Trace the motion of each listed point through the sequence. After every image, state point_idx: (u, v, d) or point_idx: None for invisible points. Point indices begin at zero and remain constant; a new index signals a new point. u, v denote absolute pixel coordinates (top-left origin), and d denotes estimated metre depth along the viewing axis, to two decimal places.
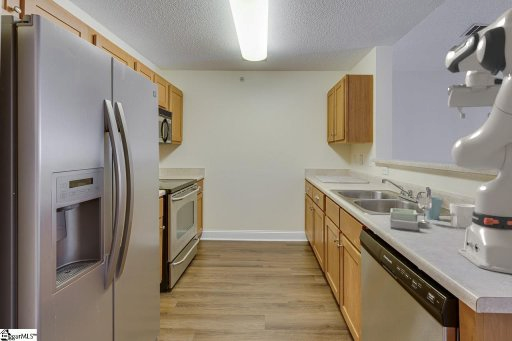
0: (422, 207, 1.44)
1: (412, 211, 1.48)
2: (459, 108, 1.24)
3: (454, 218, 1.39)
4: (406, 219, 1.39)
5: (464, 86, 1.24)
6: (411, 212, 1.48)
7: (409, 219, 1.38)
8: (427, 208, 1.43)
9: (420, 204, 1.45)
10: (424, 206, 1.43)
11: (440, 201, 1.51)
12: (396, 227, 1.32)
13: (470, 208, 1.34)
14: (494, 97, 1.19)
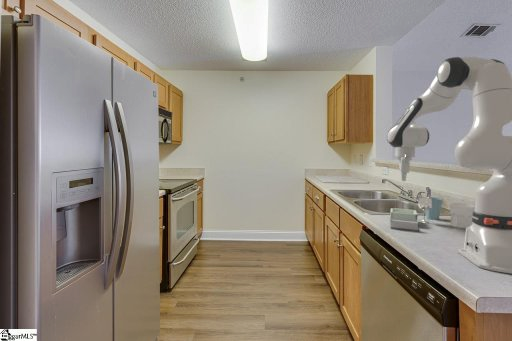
0: (422, 207, 1.44)
1: (412, 211, 1.48)
2: (406, 173, 1.51)
3: (454, 218, 1.39)
4: (406, 219, 1.39)
5: None
6: (411, 212, 1.48)
7: (409, 219, 1.38)
8: (427, 208, 1.43)
9: (420, 204, 1.45)
10: (424, 206, 1.43)
11: (440, 201, 1.51)
12: (396, 227, 1.32)
13: (470, 208, 1.34)
14: None
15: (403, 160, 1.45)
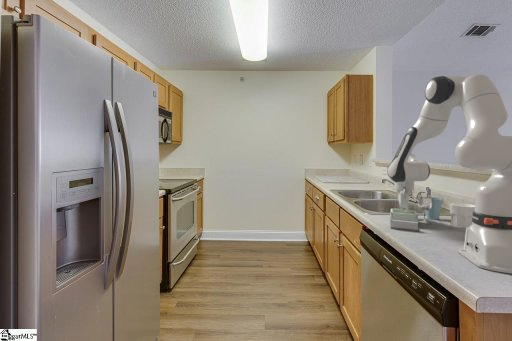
0: (422, 207, 1.44)
1: (412, 211, 1.47)
2: None
3: (454, 218, 1.39)
4: (406, 219, 1.38)
5: None
6: (411, 212, 1.47)
7: (409, 219, 1.38)
8: (427, 208, 1.43)
9: (420, 204, 1.45)
10: (424, 206, 1.43)
11: (440, 201, 1.51)
12: (396, 227, 1.32)
13: (470, 208, 1.34)
14: None
15: (402, 195, 1.42)
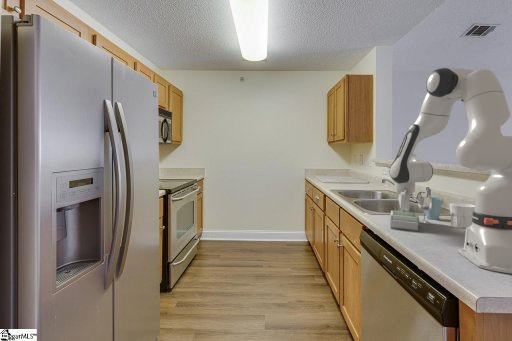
0: (422, 207, 1.44)
1: (413, 214, 1.41)
2: None
3: (454, 218, 1.39)
4: None
5: (406, 190, 1.40)
6: (412, 215, 1.41)
7: None
8: (427, 208, 1.43)
9: (420, 204, 1.45)
10: (424, 206, 1.43)
11: (440, 201, 1.51)
12: (396, 227, 1.32)
13: (470, 208, 1.34)
14: None
15: (403, 196, 1.36)
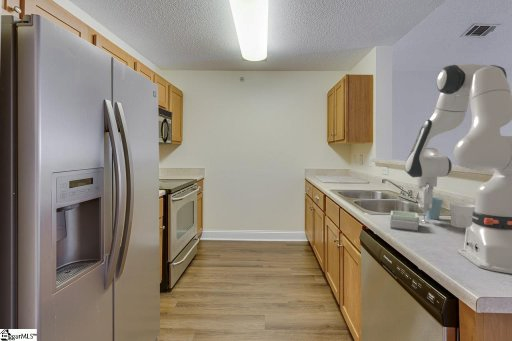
0: (422, 207, 1.44)
1: (413, 214, 1.41)
2: (428, 204, 1.41)
3: (454, 218, 1.39)
4: None
5: None
6: (412, 215, 1.41)
7: None
8: None
9: (420, 204, 1.45)
10: None
11: (440, 201, 1.51)
12: (396, 227, 1.32)
13: (470, 208, 1.34)
14: None
15: (426, 191, 1.37)
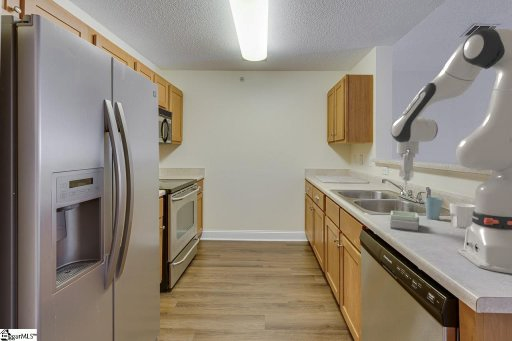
0: (403, 177, 1.35)
1: (413, 214, 1.41)
2: (409, 172, 1.32)
3: (454, 218, 1.39)
4: None
5: None
6: (412, 215, 1.41)
7: None
8: None
9: (401, 173, 1.36)
10: None
11: (440, 201, 1.51)
12: (396, 227, 1.32)
13: (470, 208, 1.34)
14: None
15: (406, 157, 1.28)
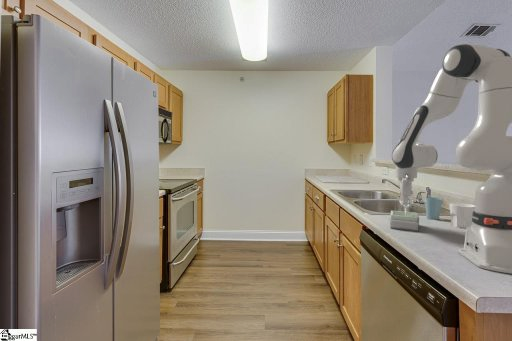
0: None
1: (413, 214, 1.41)
2: (408, 197, 1.32)
3: (454, 218, 1.39)
4: None
5: (407, 176, 1.33)
6: (412, 215, 1.41)
7: None
8: (408, 204, 1.35)
9: (401, 200, 1.37)
10: None
11: (440, 201, 1.51)
12: (396, 227, 1.32)
13: (470, 208, 1.34)
14: None
15: (404, 182, 1.29)
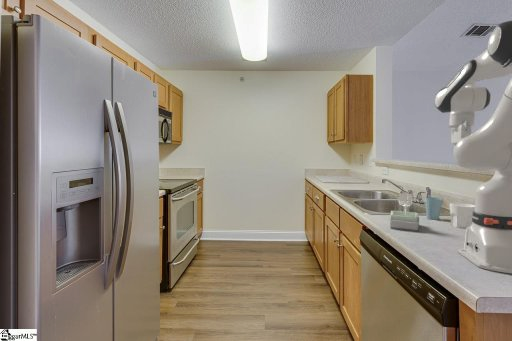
0: (402, 203, 1.36)
1: (413, 214, 1.41)
2: None
3: (454, 218, 1.39)
4: None
5: None
6: (412, 215, 1.41)
7: None
8: (407, 204, 1.35)
9: (400, 200, 1.37)
10: (404, 202, 1.35)
11: (440, 201, 1.51)
12: (396, 227, 1.32)
13: (470, 208, 1.34)
14: None
15: (463, 127, 1.22)
